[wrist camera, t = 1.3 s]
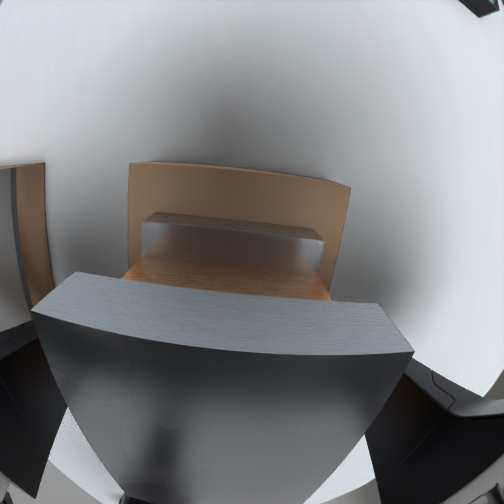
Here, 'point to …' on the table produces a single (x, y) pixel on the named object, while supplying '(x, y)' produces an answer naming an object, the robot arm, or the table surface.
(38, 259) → the stand
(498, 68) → the table surface
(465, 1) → the disk drive
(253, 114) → the table surface
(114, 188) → the table surface
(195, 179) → the stand
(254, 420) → the block
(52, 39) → the table surface
